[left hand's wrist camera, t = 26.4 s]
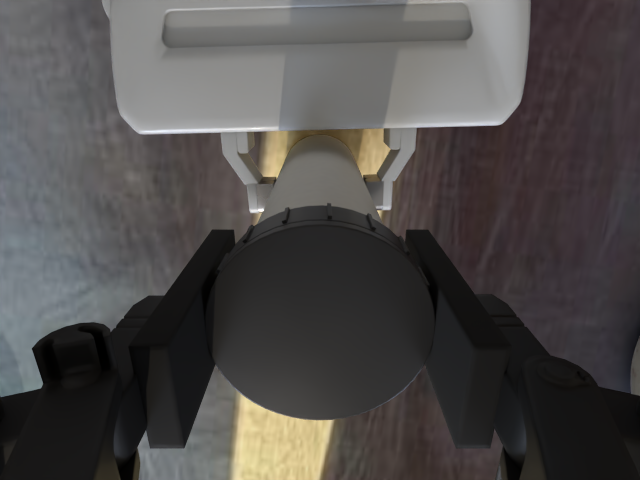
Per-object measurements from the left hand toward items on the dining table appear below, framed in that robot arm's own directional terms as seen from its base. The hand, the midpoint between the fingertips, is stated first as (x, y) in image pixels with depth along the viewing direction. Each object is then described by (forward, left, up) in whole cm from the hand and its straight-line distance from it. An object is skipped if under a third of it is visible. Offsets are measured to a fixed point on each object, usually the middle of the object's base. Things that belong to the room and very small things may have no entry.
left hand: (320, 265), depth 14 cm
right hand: (-1, 0, -9) cm, 10 cm away
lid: (0, 0, +4) cm, 4 cm away
